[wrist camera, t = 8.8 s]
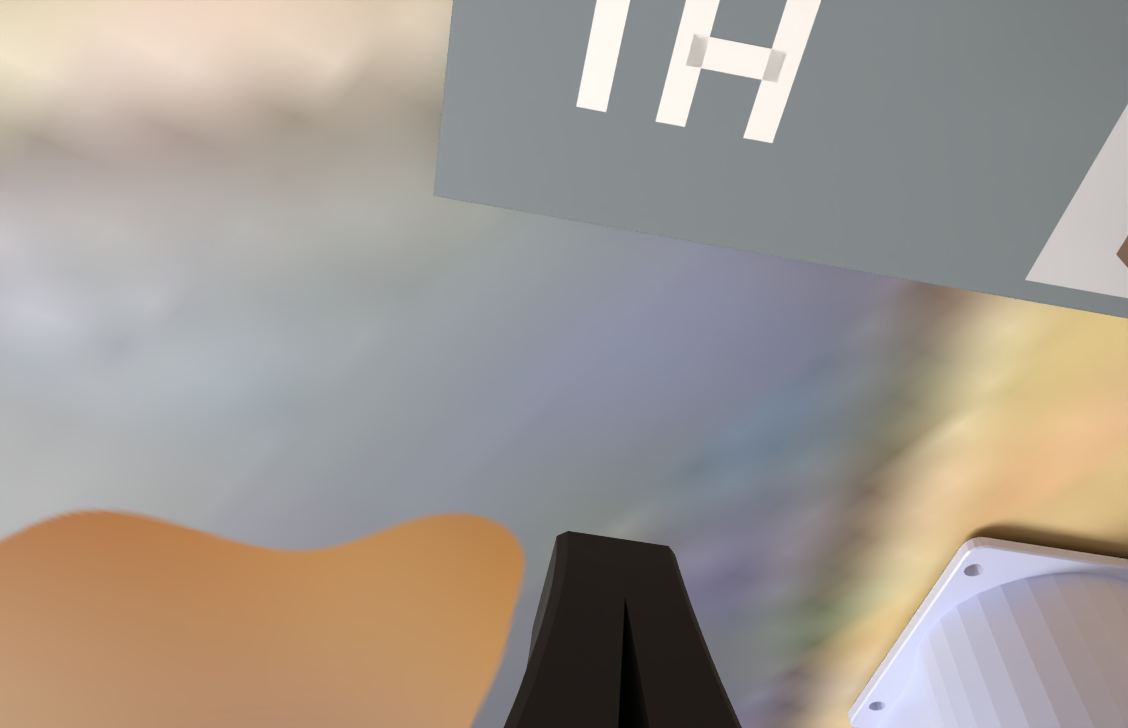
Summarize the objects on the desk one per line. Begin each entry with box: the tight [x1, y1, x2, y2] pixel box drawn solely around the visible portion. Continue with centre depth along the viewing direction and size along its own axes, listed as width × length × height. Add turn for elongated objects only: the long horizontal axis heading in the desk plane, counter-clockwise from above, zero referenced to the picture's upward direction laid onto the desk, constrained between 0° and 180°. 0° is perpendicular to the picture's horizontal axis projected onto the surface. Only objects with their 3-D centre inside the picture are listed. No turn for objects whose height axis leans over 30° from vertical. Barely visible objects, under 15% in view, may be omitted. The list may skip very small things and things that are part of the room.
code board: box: [434, 0, 1128, 318], centre depth 18 cm, size 8×21×1 cm, turn 80°
